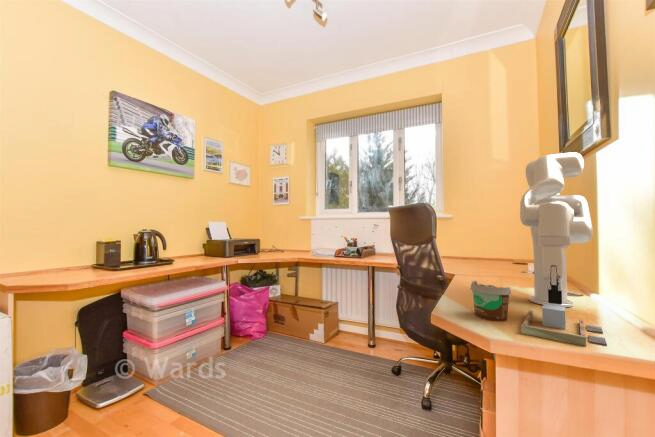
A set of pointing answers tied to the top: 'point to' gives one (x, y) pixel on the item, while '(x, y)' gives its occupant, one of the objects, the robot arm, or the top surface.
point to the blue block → (553, 316)
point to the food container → (490, 301)
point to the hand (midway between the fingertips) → (555, 303)
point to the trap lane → (561, 335)
